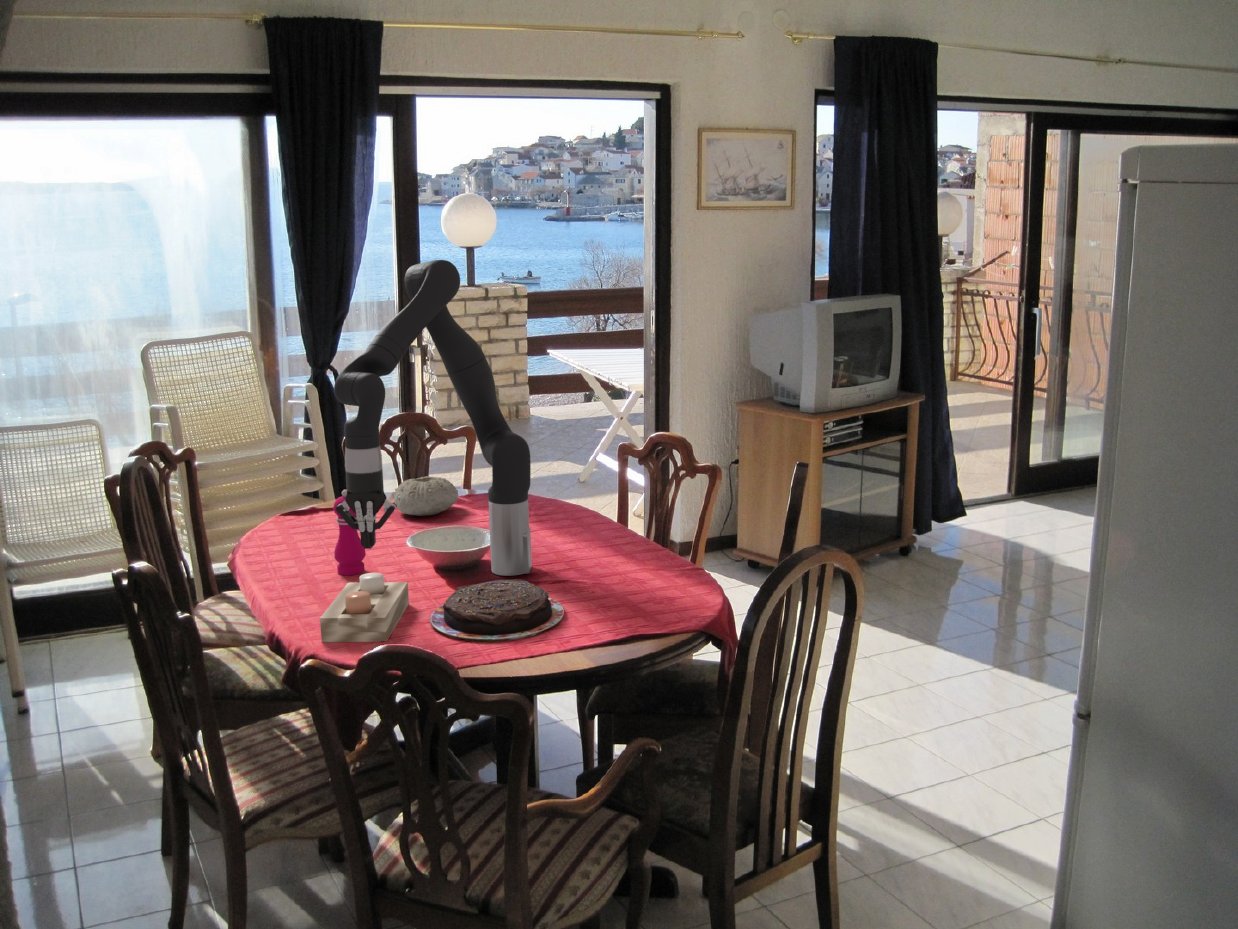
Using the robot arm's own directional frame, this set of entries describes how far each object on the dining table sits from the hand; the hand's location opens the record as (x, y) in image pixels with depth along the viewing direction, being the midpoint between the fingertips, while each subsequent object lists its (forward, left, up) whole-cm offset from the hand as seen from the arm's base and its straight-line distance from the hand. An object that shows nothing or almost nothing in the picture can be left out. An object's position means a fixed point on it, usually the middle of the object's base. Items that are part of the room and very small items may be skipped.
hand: (368, 547), depth 246 cm
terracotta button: (0, +12, -10) cm, 16 cm away
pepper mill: (+12, -28, -15) cm, 34 cm away
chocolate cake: (-27, +4, -15) cm, 31 cm away
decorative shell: (+4, -81, -15) cm, 82 cm away
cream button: (0, 0, -10) cm, 10 cm away
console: (0, +6, -14) cm, 16 cm away
